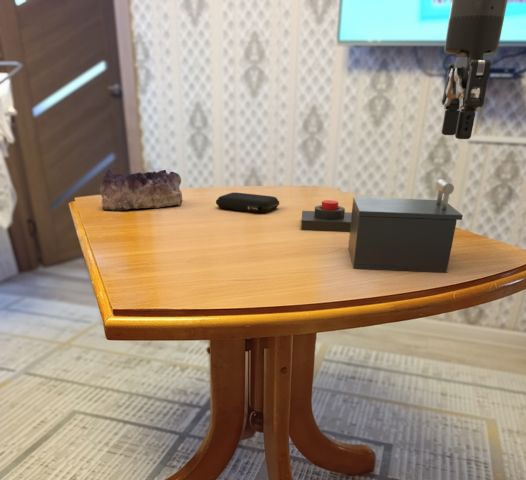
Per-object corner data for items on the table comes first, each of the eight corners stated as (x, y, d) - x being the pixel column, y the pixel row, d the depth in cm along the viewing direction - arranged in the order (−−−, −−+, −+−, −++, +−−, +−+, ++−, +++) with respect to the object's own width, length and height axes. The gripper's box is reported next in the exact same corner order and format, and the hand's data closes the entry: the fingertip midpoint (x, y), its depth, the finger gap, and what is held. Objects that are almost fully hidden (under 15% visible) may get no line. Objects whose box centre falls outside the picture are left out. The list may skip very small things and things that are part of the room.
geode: (112, 215, 118) (103, 170, 115) (97, 213, 127) (88, 171, 124) (190, 204, 128) (184, 161, 125) (171, 202, 138) (165, 163, 134)
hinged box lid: (443, 204, 93) (448, 176, 90) (462, 220, 81) (468, 187, 79) (352, 201, 94) (355, 172, 91) (358, 216, 82) (362, 184, 80)
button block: (353, 222, 118) (355, 204, 116) (357, 232, 109) (359, 213, 107) (301, 220, 118) (302, 202, 117) (301, 230, 109) (302, 211, 108)
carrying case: (210, 209, 126) (264, 216, 121) (210, 197, 125) (264, 203, 120) (230, 202, 135) (281, 208, 130) (230, 190, 134) (282, 196, 128)
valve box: (430, 251, 97) (438, 204, 93) (446, 272, 85) (456, 220, 81) (348, 248, 98) (352, 201, 94) (353, 268, 86) (358, 216, 82)
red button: (337, 208, 113) (338, 200, 113) (338, 211, 110) (338, 203, 109) (321, 207, 114) (321, 199, 113) (321, 211, 110) (322, 203, 110)
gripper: (521, 9, 67) (493, 141, 74) (487, 22, 80) (466, 134, 87) (463, 8, 67) (441, 140, 75) (438, 21, 80) (421, 133, 87)
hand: (454, 136), depth 81 cm, fingers open, 8 cm apart
